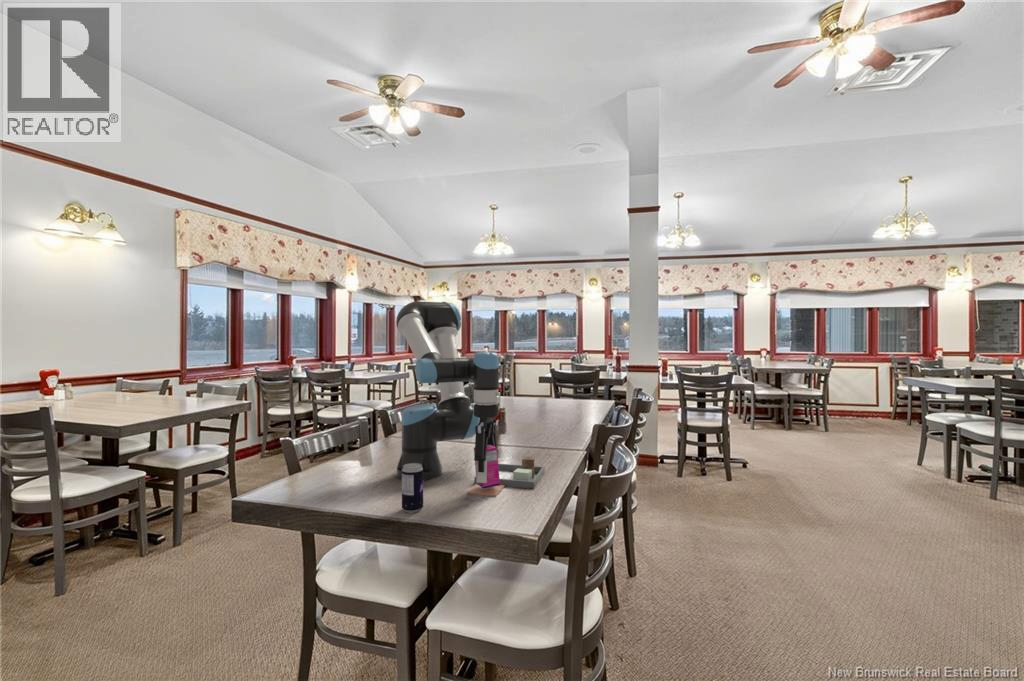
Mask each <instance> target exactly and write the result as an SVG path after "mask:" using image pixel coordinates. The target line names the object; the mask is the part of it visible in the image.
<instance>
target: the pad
mask: <svg viewBox="0 0 1024 681" xmlns="http://www.w3.org/2000/svg"><path fill="white" fill-rule="evenodd" d="M505 487H506V486H505V485H499V486H494V487H489V488H482V487H480V486H479V485H477V483H476V484H474V485H473V486H472V487H471V488H470V489H468V491H466V494H467V495H475V496H486V497H497V496H498V495H499V494H500V493H501V492H502V490H504V489H505Z"/></svg>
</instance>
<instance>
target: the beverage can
mask: <svg viewBox="0 0 1024 681" xmlns="http://www.w3.org/2000/svg"><path fill="white" fill-rule="evenodd" d="M423 507H424V480H423V468H422V465H421V464H419V463H409V464H405V465H404V466H403V469H402V479H401V508H402V510H403V511H404V512H405V513H408V514H409V513H410V514H411V513H412V514H414V513H418V512H420V511H421V510H422V508H423Z"/></svg>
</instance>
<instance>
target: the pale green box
mask: <svg viewBox="0 0 1024 681" xmlns="http://www.w3.org/2000/svg"><path fill="white" fill-rule="evenodd" d="M512 472H513V473H512V475H513V478H512V480H524V481H533V478H532V470H529V469H519V468H517V469H516V470H515V471H512Z"/></svg>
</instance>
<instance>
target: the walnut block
mask: <svg viewBox="0 0 1024 681" xmlns="http://www.w3.org/2000/svg"><path fill="white" fill-rule="evenodd" d="M521 465H522V469H529V470H532V479H534V478H535V473H534V466H535V456H530V455H528V456H523V455H522V458H521Z"/></svg>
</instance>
